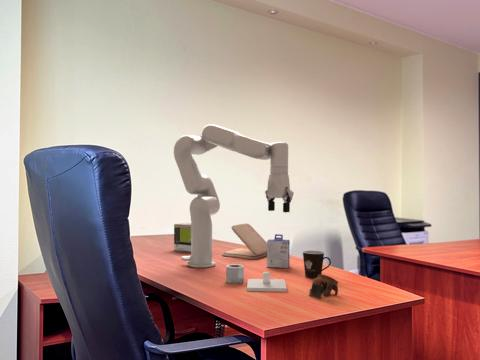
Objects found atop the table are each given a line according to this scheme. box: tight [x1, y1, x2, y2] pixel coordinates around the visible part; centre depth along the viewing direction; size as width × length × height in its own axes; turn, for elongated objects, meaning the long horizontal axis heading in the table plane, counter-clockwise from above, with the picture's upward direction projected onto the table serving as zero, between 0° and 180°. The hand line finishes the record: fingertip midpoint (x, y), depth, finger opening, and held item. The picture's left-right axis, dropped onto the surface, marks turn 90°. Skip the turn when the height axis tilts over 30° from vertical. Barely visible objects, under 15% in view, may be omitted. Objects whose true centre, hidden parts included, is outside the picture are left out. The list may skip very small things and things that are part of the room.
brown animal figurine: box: [308, 274, 339, 300], centre depth 152 cm, size 12×10×8 cm
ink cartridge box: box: [266, 233, 291, 269], centre depth 203 cm, size 10×6×14 cm, turn 78°
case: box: [221, 223, 267, 260], centre depth 233 cm, size 20×21×16 cm
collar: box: [225, 263, 245, 285], centre depth 172 cm, size 7×7×6 cm
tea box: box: [173, 222, 191, 253], centre depth 247 cm, size 15×10×15 cm, turn 58°
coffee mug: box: [302, 250, 332, 279], centre depth 181 cm, size 12×9×10 cm
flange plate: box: [246, 271, 288, 293], centre depth 165 cm, size 14×14×5 cm
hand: (278, 211), depth 191 cm, fingers open, 9 cm apart
